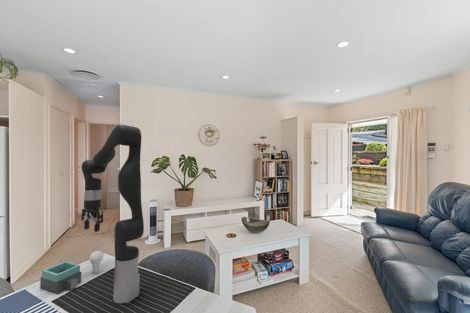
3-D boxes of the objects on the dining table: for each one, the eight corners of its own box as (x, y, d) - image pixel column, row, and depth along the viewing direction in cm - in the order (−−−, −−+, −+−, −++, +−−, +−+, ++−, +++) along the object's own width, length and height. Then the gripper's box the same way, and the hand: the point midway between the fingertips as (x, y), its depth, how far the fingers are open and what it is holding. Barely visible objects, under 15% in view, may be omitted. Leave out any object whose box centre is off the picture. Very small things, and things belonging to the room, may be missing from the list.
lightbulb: (97, 276, 108) (98, 254, 109) (85, 275, 108) (86, 253, 109) (105, 269, 114) (106, 249, 115) (94, 269, 114) (94, 248, 115)
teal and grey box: (85, 283, 101) (85, 266, 101) (61, 296, 92) (62, 277, 92) (64, 277, 106) (64, 260, 107) (40, 288, 97) (40, 270, 97)
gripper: (108, 198, 112) (107, 230, 111) (91, 196, 118) (90, 226, 117) (94, 200, 105) (92, 234, 104) (76, 198, 111) (75, 230, 110)
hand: (91, 230), depth 111 cm, fingers open, 8 cm apart
